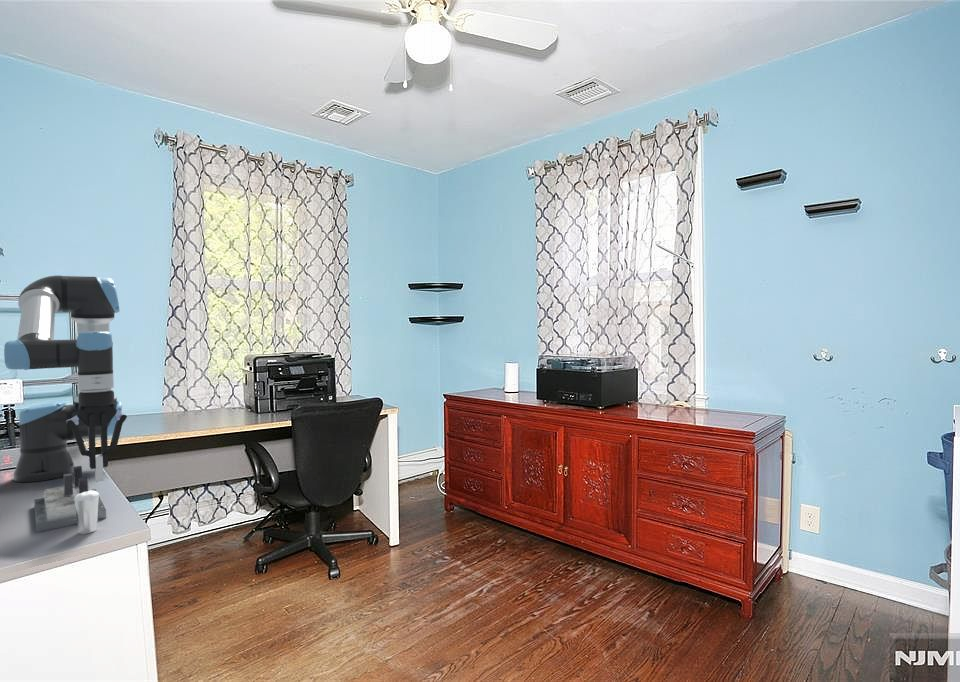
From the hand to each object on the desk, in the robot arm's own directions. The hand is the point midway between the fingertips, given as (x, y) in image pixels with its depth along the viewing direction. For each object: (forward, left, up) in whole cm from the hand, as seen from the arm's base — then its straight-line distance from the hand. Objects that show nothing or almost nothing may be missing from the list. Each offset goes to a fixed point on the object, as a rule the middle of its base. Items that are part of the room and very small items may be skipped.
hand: (99, 480), depth 137 cm
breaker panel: (+5, -3, -7) cm, 9 cm away
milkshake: (+14, +14, -7) cm, 21 cm away
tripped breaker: (+5, -3, -2) cm, 7 cm away
